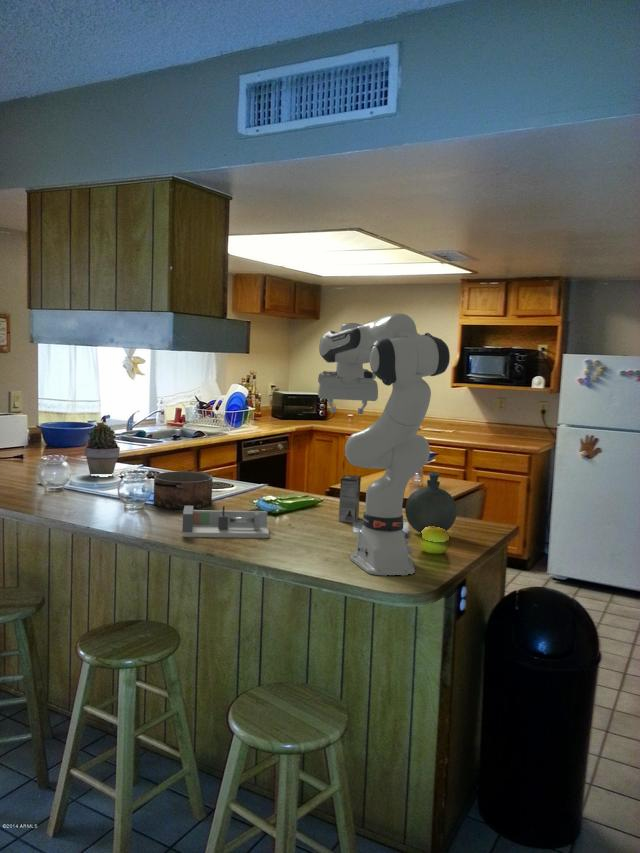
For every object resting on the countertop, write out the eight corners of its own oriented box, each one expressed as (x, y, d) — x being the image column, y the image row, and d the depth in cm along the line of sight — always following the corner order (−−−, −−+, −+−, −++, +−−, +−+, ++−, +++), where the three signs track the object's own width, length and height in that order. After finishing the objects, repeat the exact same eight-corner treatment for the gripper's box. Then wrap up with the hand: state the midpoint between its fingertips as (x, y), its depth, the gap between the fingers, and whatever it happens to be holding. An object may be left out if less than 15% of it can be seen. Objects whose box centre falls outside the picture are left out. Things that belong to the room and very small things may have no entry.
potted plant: (113, 470, 330) (114, 418, 328) (127, 477, 315) (129, 423, 312) (75, 472, 320) (75, 419, 317) (87, 480, 304) (88, 424, 302)
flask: (446, 542, 234) (451, 478, 231) (400, 533, 242) (404, 471, 240) (458, 535, 244) (462, 474, 241) (413, 527, 252) (417, 467, 250)
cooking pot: (185, 514, 253) (186, 485, 251) (135, 506, 261) (136, 478, 260) (226, 500, 280) (227, 474, 279) (180, 493, 289) (181, 468, 287)
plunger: (258, 529, 229) (259, 514, 229) (229, 529, 228) (230, 514, 227) (257, 525, 235) (258, 510, 235) (229, 524, 234) (230, 510, 233)
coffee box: (342, 515, 264) (344, 474, 262) (358, 517, 262) (361, 475, 261) (338, 521, 255) (340, 478, 253) (355, 523, 254) (357, 480, 252)
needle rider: (227, 528, 228) (228, 507, 227) (218, 528, 228) (219, 507, 227) (227, 525, 233) (228, 504, 232) (218, 524, 233) (219, 504, 232)
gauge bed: (268, 537, 227) (270, 515, 226) (182, 536, 223) (183, 514, 222) (266, 528, 239) (267, 507, 238) (183, 527, 234) (184, 505, 234)
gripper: (320, 371, 228) (317, 412, 229) (380, 374, 231) (377, 415, 232) (317, 370, 234) (315, 411, 235) (376, 373, 237) (373, 413, 238)
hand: (346, 413), depth 234 cm, fingers open, 8 cm apart
